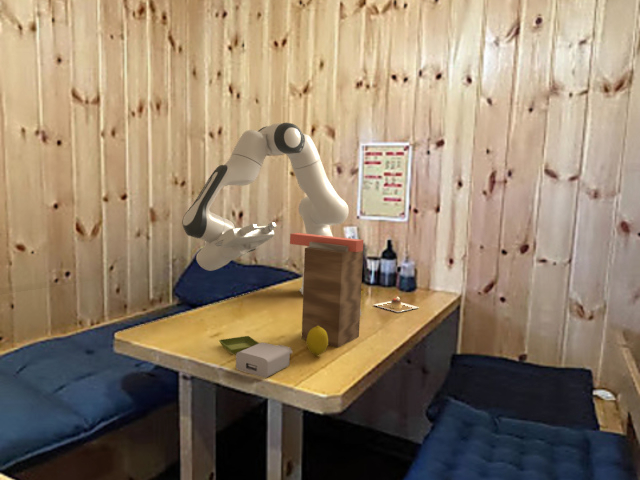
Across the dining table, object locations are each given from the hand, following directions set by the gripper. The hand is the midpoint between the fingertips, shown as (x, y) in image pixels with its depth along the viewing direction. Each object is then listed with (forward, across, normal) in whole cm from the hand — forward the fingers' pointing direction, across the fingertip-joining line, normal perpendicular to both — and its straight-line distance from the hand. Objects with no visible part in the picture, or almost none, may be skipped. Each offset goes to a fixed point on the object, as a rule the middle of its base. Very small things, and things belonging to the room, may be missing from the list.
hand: (265, 225), depth 153 cm
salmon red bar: (+17, 0, +15) cm, 23 cm away
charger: (+6, -27, +39) cm, 48 cm away
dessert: (+7, +46, +40) cm, 61 cm away
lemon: (+11, -15, +42) cm, 46 cm away
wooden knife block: (+7, 0, +39) cm, 39 cm away
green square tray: (-6, -23, +33) cm, 40 cm away
